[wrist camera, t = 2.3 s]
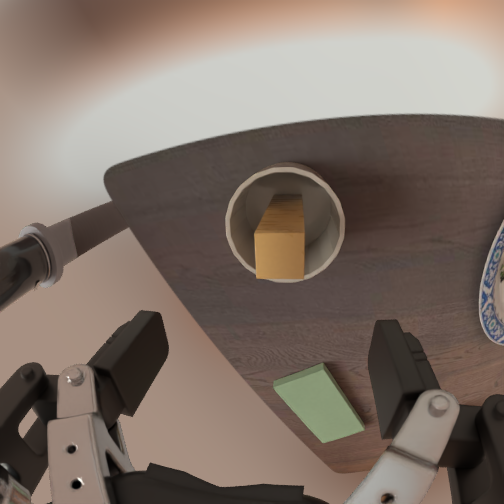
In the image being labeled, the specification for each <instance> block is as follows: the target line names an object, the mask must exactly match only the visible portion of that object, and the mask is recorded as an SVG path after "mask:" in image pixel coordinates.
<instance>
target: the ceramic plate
mask: <svg viewBox="0 0 504 504" xmlns="http://www.w3.org/2000/svg"><path fill="white" fill-rule="evenodd" d="M479 316H480V321H481V325H482V328H483V330H484V332H485V334H486V335H487V337H488V338H489V339H490V340H491V341H493V342H494V343H496V344H499V345H504V221H503V223H502V224H501V226H500V228H499V230H498V232H497V234H496V236H495V239H494V241H493V244H492V246H491V249H490V251H489V254H488V257H487V260H486V263H485V267H484V271H483V275H482V280H481V285H480V292H479Z"/></svg>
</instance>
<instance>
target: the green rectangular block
mask: <svg viewBox="0 0 504 504" xmlns="http://www.w3.org/2000/svg"><path fill="white" fill-rule="evenodd" d="M273 388H274V389H275V391H276V392H277V393H278V394H279V395H280V396H281V398H282V399H283V400H284V401H285V402H286V403H287V404H288V406H289V407H290V408H291V409H292V410H293V411H294V412H295V413H296V414H297V416H298V417H299V418H300V419H301V420H302V421H303V422H304V423H305V424H306V426H307V427H308V428H309V429H310V430H311V431H312V432H313V433H314V434H315V435H316V436H317V437H318V438H319V439H320V441H321V442H322V443H325V442H329V441H332V440H336V439H339V438H342V437H345V436H348V435H352V434H355V433H357V432H360V431H363V430H365V427H364V423H363V421H362V420H361V418H360V417H359V415H358V414H357V412H356V411H355V409H354V408H353V406H352V405H351V403H350V402H349V400H348V399H347V397H346V396H345V394H344V393H343V391H342V390H341V388H340V387H339V385H338V384H337V382H336V381H335V379H334V378H333V376H332V375H331V373H330V372H329V370H328V369H327V367H326V366H325V364H324V363H321V364H318V365H316V366H313V367H310V368H308V369H305V370H303V371H300V372H297V373H295V374H292V375H289V376H286V377H283V378H281V379H278V380H275V381H274V384H273Z"/></svg>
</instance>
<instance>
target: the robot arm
mask: <svg viewBox="0 0 504 504" xmlns="http://www.w3.org/2000/svg"><path fill="white" fill-rule="evenodd" d="M51 272H52V264H51V259H50V255H49V252H48V250H47V248H46V246H45V244H44V243H43V241H42V240H41V239H40V238H39V237H38V236H37V235H35V234H33V233H27V234H25V235H23V236H22V237H20V238H18V239H16V240H14V241H12V242H10V243H8V244H6V245H4V246H2V247H0V313H1V312H2V311H4V310H5V309H6V308H7V307H9V306H10V305H12V304H13V303H14V302H16V301H17V300H19V299H20V298H21V297H23V296H24V295H25V294H27V293H28V292H30V291H31V290H33V289H34V288H35V289H34V291H35V290H36V289H37V287H38V286H39V285H40V284H42V283H44V282H46V281H47V280H48V279H49V278H50V276H51ZM168 351H169V345H168V341H167V337H166V332H165V329H164V324H163V320H162V316H161V314H160V313H159V312H153V311H143V310H141V311H139V312H138V313H137V315H136V316H135V317H134V318H133V319H132V320H131V321H128V322H127V323H125V324H124V325H122V326H120V327H119V328H118V329H117V330H116V331H115V332H114V333H113V335H112V337H110V338H109V339H108V340H107V341H106V343H104V345H103V346H102V347H101V348H100V349H99V350H98V351H97V352H96V354H95V355H94V356H93V357H92V358H91V360H90V361H89V362H88V363H87V364H86V365H85V364H76V365H72V366H70V367H68V368H66V369H65V370H63V371H62V373H61V374H60V375H46V373H45V371H44V369H43V368H42V366H41V365H40V364H39V363H34V362H32V363H27V364H25V365H23V366H21V367H20V368H19V369H18V370H17V371H16V372H15V373H14V374H13V375H12V376H11V377H10V378H9V380H8V381H7V382H6V383H5V384H4V385H3V386H2V388H1V389H0V504H33V503H31V496H32V494H33V492H34V490H35V489H36V487H37V485H38V483H39V481H40V480H41V478H42V476H43V474H44V473H45V471H46V469H47V467H48V466H49V477H50V487H51V494H52V502H50V503H47V504H329V503H327V502H325V501H323V500H321V499H318V498H315V497H312V496H308V495H304V494H303V490H304V486H292V485H271V484H258V485H248V486H235V487H219V486H216V485H213V484H211V483H208V482H206V481H204V480H201V479H199V478H197V477H195V476H193V475H190V474H188V473H186V472H184V471H180V470H175V469H172V468H168V467H164V466H160V465H157V464H153V463H150V464H149V466H148V468H147V470H146V471H135V470H134V468H133V466H132V464H131V462H130V459H129V456H128V453H127V449H126V445H125V441H124V437H123V433H122V429H121V425H120V422H119V420H118V417H119V416H120V414H124V415H127V416H131V417H133V415H134V413H135V411H136V410H137V408H138V406H139V405H140V403H141V401H142V400H143V398H144V396H145V394H146V393H147V391H148V389H149V388H150V386H151V384H152V383H153V381H154V379H155V377H156V376H157V374H158V372H159V371H160V369H161V367H162V366H163V364H164V362H165V361H166V359H167V356H168ZM423 351H424V350H423V348H422V346H421V344H420V342H419V340H418V339H417V338H415V337H414V336H413V335H412V334H411V333H410V332H409V333H403V331H402V329H401V327H400V324H399V322H398V320H396V319H395V320H377V321H376V323H375V326H374V331H373V336H372V341H371V346H370V350H369V355H368V370H369V374H370V379H371V384H372V388H373V393H374V398H375V403H376V409H377V414H378V419H379V425H380V431H381V437H382V440H383V439H391V438H392V439H393V441H392V443H391V444H390V446H388V447H387V449H386V450H385V451H384V453H383V454H382V456H381V457H380V458H379V460H378V461H377V463H376V464H375V465H374V467H373V468H372V469H371V471H370V472H369V473H368V475H367V476H366V477H365V478H364V480H363V481H362V482H361V483H360V485H359V486H358V487H357V488H356V490H355V491H354V492H353V493H352V494H351V495H350V497H349V498H348V499H347V500H346V501H345V502H344V503H343V504H420V503H421V502H422V500H423V498H424V497H425V495H426V493H427V491H428V490H429V488H430V486H431V484H432V482H433V480H434V478H435V476H436V474H437V472H438V469H439V467H447V471H448V476H449V482H450V489H451V496H452V504H504V395H500V394H496V395H492V396H490V397H488V398H487V399H486V400H485V402H484V403H483V405H482V406H468V405H460V404H459V402H458V400H457V399H456V398H455V396H454V395H452V394H451V393H449V392H448V391H445V390H442V389H441V388H440V386H439V384H438V381H437V379H436V377H435V374H434V372H433V370H432V368H431V365H430V363H429V361H427V357H426V354H425V352H423ZM31 408H32V409H33V411H34V412H35V414H36V415H37V416H38V418H37V419H36V421H35V422H34V424H33V425H32V426H31V428H30V429H29V430H28V432H27V434H26V435H25V436H24V438H23V439H22V438H21V436H20V435H19V432H18V427H19V424H20V422H21V421H22V419H23V418H24V417H25V415H26V414H27V413H28V411H29V410H30V409H31Z"/></svg>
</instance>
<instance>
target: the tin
mask: <svg viewBox="0 0 504 504" xmlns="http://www.w3.org/2000/svg"><path fill="white" fill-rule="evenodd" d="M288 194H302V200H303V213H304V227H305V268H304V279H268V280H271V281H274V282H293V283H294V282H298V281H302V280H305V279H309V278H311V277H313V276H315V275H316V274H318V273H319V272H321V271H323V270H324V269H326V268H327V267H328V266H329V264H330V263H331V262H332V261H333V259H334V258H335V257H336V256H337V254H338V252H339V250H340V247H341V245H342V242H343V239H344V234H345V217H344V213H343V210H342V207H341V203H340V201H339V199H338V198H337V196H336V195H335V193H334V192H333V190H332V189H331V188H330V186H329V185H328V184H327V182H326V181H325V180H324V179H323V177H322V176H321V175H320V174H318V173H317V172H316V171H314V170H313V169H311V168H310V167H308V166H305V165H302V164H299V163H296V162H279V163H276V164H273V165H270V166H267V167H265V168H263V169H262V170H260V171H259V172H257V173H256V174H254V175H253V176H252V177H250V178H249V179H248V180H246V181H245V182H244V183H243V184H241V185H240V186H239V188H238V189H237V191H236V192H235V194H234V195H233V197H232V199H231V200H230V202H229V206H228V210H227V214H226V218H225V223H226V236H227V239H228V242H229V244H230V247H231V249H232V251H233V253H234V255H235V256H236V257H237V258H238V260H239V261H240V262H241V263H242V264H243V266H244V267H245V268H247V269H248V270H250V271H251V272H253V273H254V274H256V258H255V238H254V233H255V231H256V229H257V227H258V225H259V223H260V221H261V219H262V217H263V215H264V213H265V211H266V209H267V207H268V205H269V203H270V201H271V199H272V197H273V195H288Z"/></svg>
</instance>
